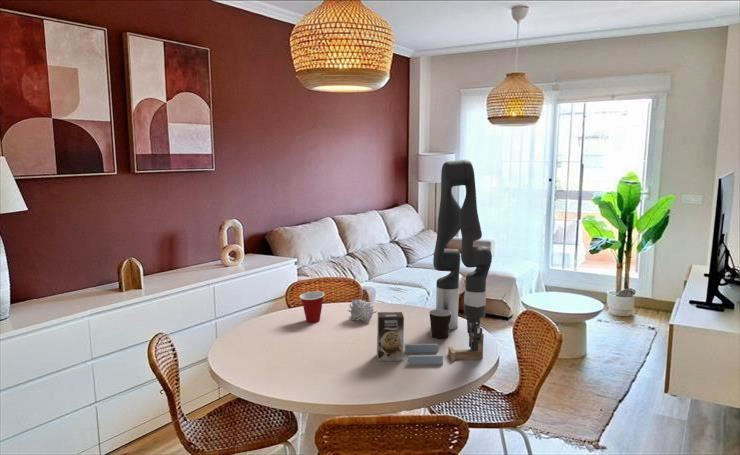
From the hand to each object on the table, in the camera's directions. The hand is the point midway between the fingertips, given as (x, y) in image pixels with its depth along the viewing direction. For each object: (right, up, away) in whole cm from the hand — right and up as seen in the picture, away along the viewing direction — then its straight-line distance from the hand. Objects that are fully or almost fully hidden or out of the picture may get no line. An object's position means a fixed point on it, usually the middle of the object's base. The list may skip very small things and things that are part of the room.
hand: (473, 348), depth 185 cm
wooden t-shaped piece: (-3, -3, 0) cm, 4 cm away
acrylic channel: (-18, -3, 0) cm, 18 cm away
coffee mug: (-8, 0, +22) cm, 23 cm away
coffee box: (-30, -3, 0) cm, 30 cm away
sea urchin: (-41, +3, +40) cm, 58 cm away
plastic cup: (-62, +3, +40) cm, 74 cm away
